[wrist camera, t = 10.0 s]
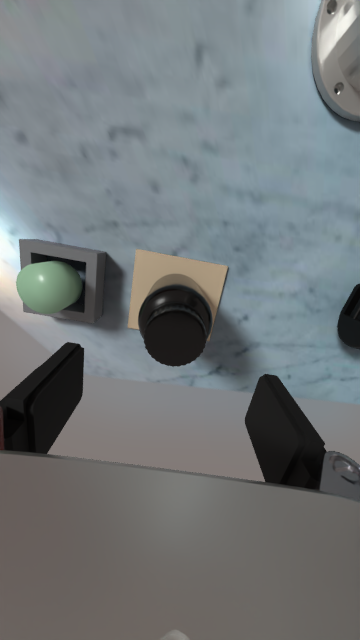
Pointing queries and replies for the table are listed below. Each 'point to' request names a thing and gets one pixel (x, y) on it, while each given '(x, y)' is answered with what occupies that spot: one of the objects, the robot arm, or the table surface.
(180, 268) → the beige square board
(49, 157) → the table surface
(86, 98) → the table surface
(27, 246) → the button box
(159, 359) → the supplement bottle
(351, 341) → the end cap
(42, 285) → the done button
